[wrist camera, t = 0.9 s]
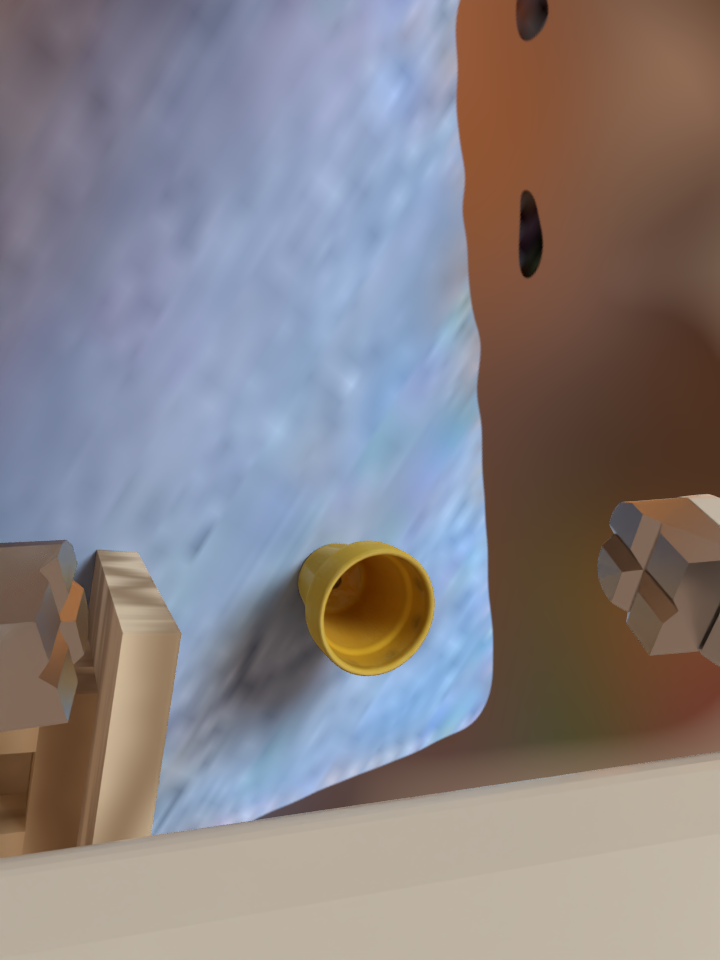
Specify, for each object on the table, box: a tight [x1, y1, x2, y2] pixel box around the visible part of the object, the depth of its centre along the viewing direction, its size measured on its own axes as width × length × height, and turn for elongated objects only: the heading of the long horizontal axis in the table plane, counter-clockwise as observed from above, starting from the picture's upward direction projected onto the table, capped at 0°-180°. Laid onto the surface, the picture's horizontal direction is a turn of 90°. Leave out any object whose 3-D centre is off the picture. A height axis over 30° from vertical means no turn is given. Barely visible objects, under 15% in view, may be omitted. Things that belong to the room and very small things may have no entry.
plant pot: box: [298, 541, 435, 676], centre depth 54 cm, size 10×10×10 cm
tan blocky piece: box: [0, 550, 181, 858], centre depth 40 cm, size 15×24×18 cm, turn 169°
